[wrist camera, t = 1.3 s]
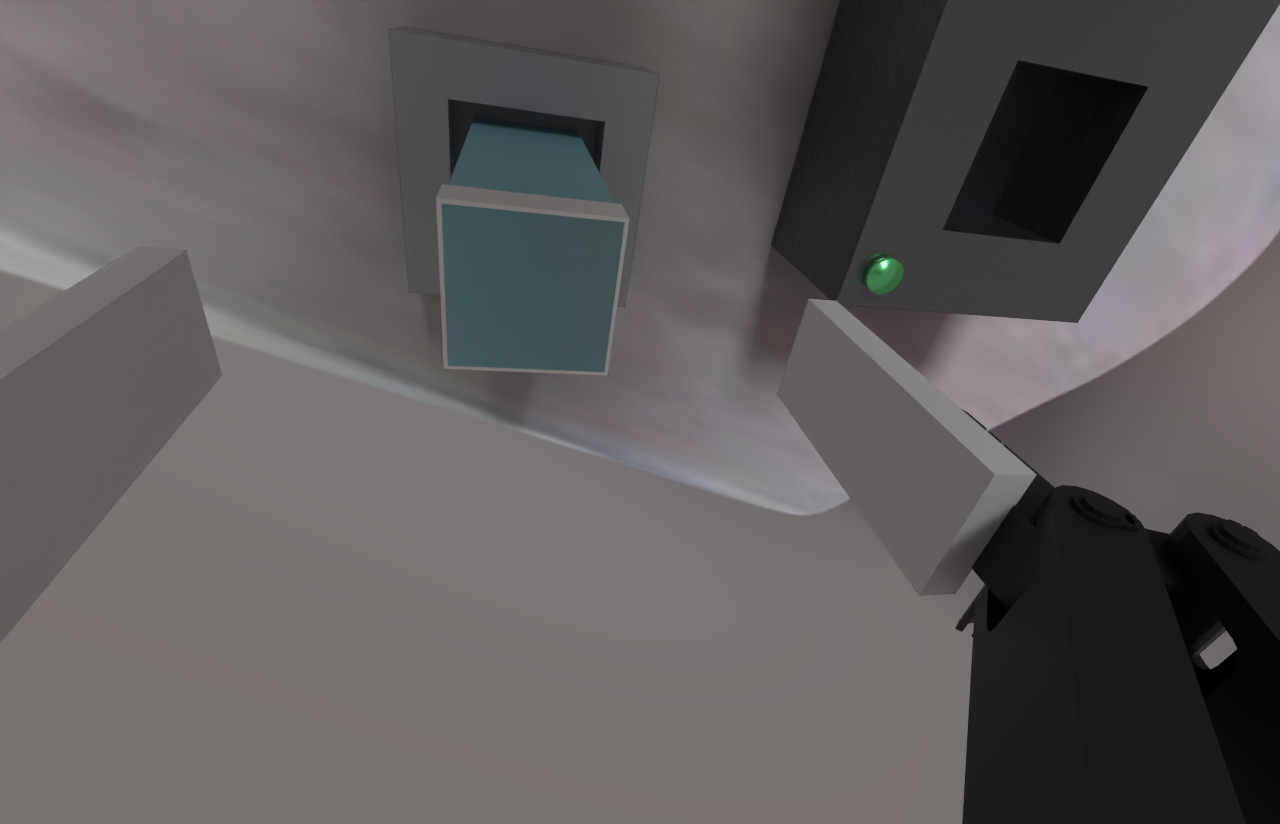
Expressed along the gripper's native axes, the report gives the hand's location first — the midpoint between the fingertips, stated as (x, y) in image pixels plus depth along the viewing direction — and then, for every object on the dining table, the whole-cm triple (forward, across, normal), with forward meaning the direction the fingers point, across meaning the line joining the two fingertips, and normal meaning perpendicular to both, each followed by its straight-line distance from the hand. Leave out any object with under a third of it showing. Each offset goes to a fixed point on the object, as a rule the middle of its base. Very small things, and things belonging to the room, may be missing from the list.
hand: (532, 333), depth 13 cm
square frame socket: (+14, 0, 0) cm, 14 cm away
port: (+14, +18, +4) cm, 23 cm away
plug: (+13, 0, 0) cm, 13 cm away
